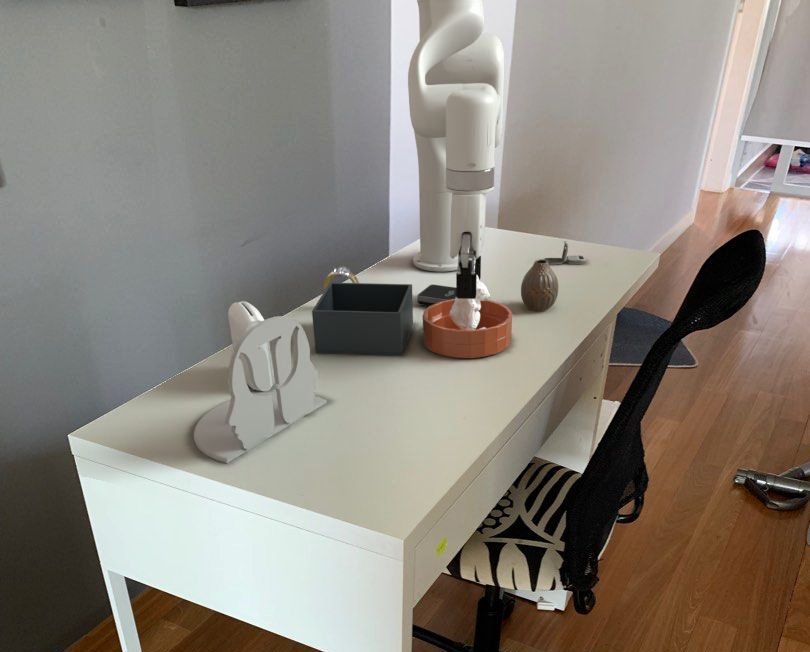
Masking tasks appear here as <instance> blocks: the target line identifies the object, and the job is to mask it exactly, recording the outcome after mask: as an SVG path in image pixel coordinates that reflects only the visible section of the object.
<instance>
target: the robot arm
mask: <svg viewBox="0 0 810 652" xmlns="http://www.w3.org/2000/svg"><path fill="white" fill-rule="evenodd" d="M416 3H417V6H418V19H419V21H418V23H419V28H418V29H419V30H418V31H419V42H418V43H417V44H416V47H415V49H414V51H413V52H412V53H413V54H412V55H411V59H410V61H409V66H408V73H407V89H408V106H409V117H410V123H411V127H412V129H413V132H414V139H415V146H416V154H417V155H416V156H417V165H418V166H417V167H418V191H419V195H418V197H419V249H420V250H419V252H418V253H415V255H414V256H413V258H412V260H413V261H412V262H413V265H414V266H415V267H416V268H418V269H420V270H423V271H428V272H441V273H443V272H454V271H456V275H455V277H456V278H455V279H456V281H455V282H456V283H455V285H456V286H455V287H456V297H457V298H458V299H475V298H476V278H477V275H478V277H479V281H480V280H481V278H482V277H481V275H482V273H481V272H482V256H481V254H482V250H483V246H484V239H485V232H486V231H485V230H486V214H487V194H488V193H491V192H493V191H494V190H495V160H496V159H495V155H496V148H498V147H499V145H500V143H501V140H502V135H503V127H504V126H503V124H504V96H505V52H504V47H503V44H502V41H501V40H500V38H499V37H498V36H497V35H495V34H492V33H488V32H487V33H485V32H484V33H483V31H484V28H485V13H484V3H483V0H416Z"/></svg>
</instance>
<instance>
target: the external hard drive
mask: <svg viewBox="0 0 810 652" xmlns="http://www.w3.org/2000/svg"><path fill="white" fill-rule="evenodd" d="M416 296H417V297H416V298H417V304H418V305H420V306H425V307H426V306H427V307H429V306H431V305H433V304H436V303H438V302H442V301H446V300H451V299H455V298H456V286H449V285H448V286H447V285H441V284H429V285H428V286H427V287H425V288H424V289H423V290H421V291H420V292H419V293H418V294H417V295H416Z"/></svg>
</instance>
